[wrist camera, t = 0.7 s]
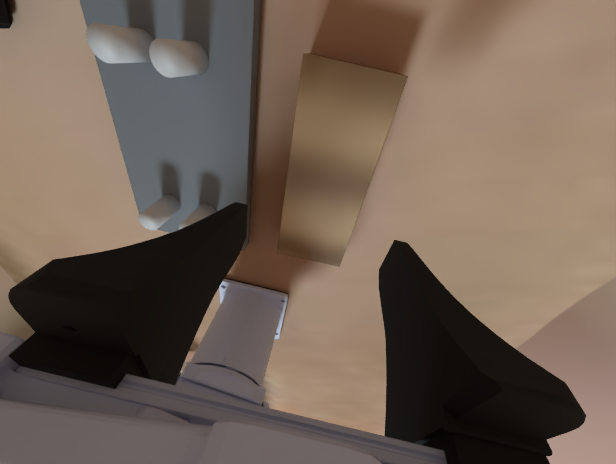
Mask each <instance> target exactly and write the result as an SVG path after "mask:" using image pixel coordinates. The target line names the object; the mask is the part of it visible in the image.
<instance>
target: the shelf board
mask: <svg viewBox="0 0 616 464" xmlns="http://www.w3.org/2000/svg"><path fill="white" fill-rule="evenodd" d="M407 77H408V76H405V75H402V74H400V73H395V72H391V71H386V70H381V69H377V68H372V67H368V66H363V65H359V64H354V63H350V62H345V61H341V60H336V59H332V58H327V57H323V56H318V55H314V54H306V53H303V59H302V67H301V75H300V82H299V90H298V97H297V105H296V112H295V120H294V128H293V135H292V143H291V150H290V158H289V165H288V173H287V181H286V188H285V196H284V203H283V211H282V218H281V226H280V234H279V241H278V249H277V253H281V254H285V255H290V256H294V257H299V258H303V259H308V260H312V261H316V262H321V263H325V264H330V265H334V266H338V267H340V264H341V261H342V258H343V256H344V253H345V250H346V247H347V245H348V242H349V239H350V236H351V233H352V231H353V228H354V225H355V222H356V219H357V217H358V214H359V211H360V208H361V206H362V203H363V200H364V197H365V194H366V192H367V189H368V186H369V183H370V180H371V178H372V175H373V172H374V169H375V167H376V164H377V161H378V158H379V155H380V153H381V150H382V147H383V144H384V141H385V139H386V136H387V133H388V130H389V128H390V125H391V122H392V119H393V116H394V114H395V111H396V108H397V105H398V102H399V100H400V97H401V94H402V91H403V89H404V86H405V83H406V80H407Z"/></svg>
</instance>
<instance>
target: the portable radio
mask: <svg viewBox="0 0 616 464" xmlns="http://www.w3.org/2000/svg"><path fill="white" fill-rule="evenodd" d="M11 24H12V20H11V15H10V10H9V6H8V1H7V0H0V28H10V26H11Z"/></svg>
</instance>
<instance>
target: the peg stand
mask: <svg viewBox="0 0 616 464" xmlns="http://www.w3.org/2000/svg"><path fill="white" fill-rule="evenodd" d="M80 3H81V7H82V10H83V14H84V18H85V21H86V25H87V31H86V36H87V41H88V44H89V46H90V48H91V50H92V51H93V52H94V54H95V57H96V61H97V64H98V68H99V71H100V75H101V79H102V82H103V86H104V89H105V93H106V97H107V100H108V104H109V107H110V111H111V114H112V118H113V122H114V125H115V129H116V132H117V136H118V140H119V143H120V147H121V150H122V154H123V158H124V161H125V165H126V168H127V172H128V175H129V179H130V183H131V186H132V190H133V193H134V197H135V201H136V204H137V208H138V211H139V216H138V219H139V222H140V223H141V224H142V226H144V227H145V228H147V229H149V230H157V229H158V230H162V231H166V232H170V233H172V232H175V231H177V230H180V229H182V228H184V227H187V226H189V225H191V224H193V223H195V222H197V221H200V220H202V219H204V218H206V217H208V216H209V215H211V214H213V213H215V212H217V211H219V210H221V209H223V208H224V207H226V206H228V205H230V204H232V203H234V202H238V203H242V204H247V205H248V211H247V235H246V240H245V242H244V244H243V247H242V249H241V250H245V248H246V247H247V245H248V243H249V227H250V207H251V188H252V168H253V149H254V129H255V110H256V90H257V71H258V51H259V32H260V12H261V0H80Z"/></svg>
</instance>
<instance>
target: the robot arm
mask: <svg viewBox="0 0 616 464" xmlns="http://www.w3.org/2000/svg"><path fill="white" fill-rule="evenodd" d="M247 211H248V205H247V204H242V203H238V202H234V203H232V204H230V205H228V206H226V207H224V208H223V209H221V210H219V211H217V212H215V213H213V214H211V215H209V216H208V217H206V218H204V219H202V220H200V221H197V222H195V223H193V224H191V225H189V226H187V227H184V228H182V229H180V230H177V231H175V232H172V233H169V234H166V235H164V236H161V237H158V238H155V239H151V240H148V241H144V242H141V243H137V244H134V245H130V246H126V247H122V248H118V249H113V250H108V251H104V252H99V253H93V254H87V255H81V256H75V257H68V258H62V259H55V260H52V261H51V262H49V263H48V264H46V265H45V266H43V267H42V268H41V269H39V270H38V271H36V272H35V273H33V274H32V275H30V276H29V277H27V278H26V279H25V280H23V281H22V282H20V283H19V284H17V285H16V286H14V287H13V288H12V289H10V292H9V300H10V303H11V305H12V306H13V307H14V309H15V310H16V311H17V312H18V313H19V314H20V315H21V317H22V318H23V319H24V320H25V321H26V322H27V323H28V324H29V325H30V326H31V327H32V329H33V330H34V331H35V333H34V334H33V335H32V336H31V337H30V338H28V339H27V340H26V341H25V340H23V339H21V338H19V337H17V336H14V335H11V334H7V333H2V332H0V464H550V463H549V461H548V459H547V457H546V456H551V455H552V450H551V448H550V446H549V444H548V443H547V439H549V438H552V437H555V436H558V435H561V434H564V433H567V432H570V431H572V430H574V429H576V428H579V427H580V426H581V425H582V424H583V423H584V421H585V417H586V415H585V413H584V411H583V410H582V408H581V406H580V405H579V403H578V402H577V400H576V399H575V397H574V395H573V394H572V392H571V391H570V389H569V388H568V386H567V385H566V383H565V382H563V381H562V380H560V379H559V378H557V377H556V376H554V375H553V374H551V373H550V372H548V371H546V370H545V369H544V368H542V367H541V366H539V365H537V364H536V363H535V362H533V361H531V360H530V359H528V358H527V357H526V356H524V355H523V354H521V353H520V352H519V351H517V350H516V349H515V348H513V347H512V346H511V345H509V344H508V343H507V342H505V341H504V340H503V339H501V338H500V337H499V336H497V335H496V334H495V333H494V332H492V331H491V330H490V329H489V328H488V327H486V326H485V325H484V324H483V323H482V322H480V321H479V320H478V319H477V318H476V317H475V316H473V315H472V314H471V313H470V312H469V311H468V310H467V309H466V308H465V307H464V306H463V305H462V304H461V303H460V302H458V301H457V300H456V299H455V298H454V297H453V296H452V295H451V293H450V292H449V291H448V290H447V289H446V288H445V287H444V286H443V285H442V284H441V283H440V281H439V280H438V279H437V278H436V277H435V276H434V275H433V273H432V272H431V271H430V270H429V269H428V267H427V266H426V265H425V264H424V262H423V261H422V260H421V259H420V257H419V256H418V255H417V254H416V253H415V251H414V250H413V249H412V248H411V247H410V245H409V244H408V243H406V242H401V241H397V240H394V242H393V244H392V246H391V248H390V250H389V252H388V254H387V255H386V257H385V259H384V261H383V263H382V265H381V267H380V269H379V292H380V300H381V307H382V314H383V321H384V328H385V337H386V370H387V386H386V420H385V436H381V435H377V434H373V433H369V432H365V431H361V430H357V429H352V428H348V427H344V426H340V425H336V424H332V423H328V422H324V421H319V420H315V419H311V418H307V417H303V416H299V415H295V414H291V413H286V412H282V411H278V410H274V409H270V408H269V404H268V403H267V402H265V401H263V399H264V395H265V391H266V390H265V389H264V388H261V387H262V383H263V379H264V376H265V372H266V368H267V365H268V361H269V357H270V354H271V350H272V346H273V342H274V339H276V340H277V339H279V337H280V333H281V328H282V323H283V319H284V314H285V310H286V305H287V301H288V295H287V294H286V293H282V292H278V291H274V290H269V289H265V288H261V287H257V286H253V285H249V284H244V283H240V282H236V281H232V280H228V279H224V278H225V277H226V275H227V273H228V272H229V270H230V269H231V267H232V265H233V264H234V262H235V260H236V259H237V257H238V255H239V253H240V251H241V249H242V247H243V244H244V242H245V240H246V235H247ZM218 288H219V290H220V307H219V309H218V311H217V312H216V314H215V316H214V318H213V320H212V322H211V324H210V326H209V328H208V330H207V332H206V333H205V335H204V337H203V339H202V341H201V343H200V345H199V347H198V349H197V351H196V352H195V354H194V356H193V358H192V360H191V362H188V363H187V365H186V367H185V369H184V371H183V372H182V374H181V372H180V371H181V368H182V366H183V363H184V361H185V358H186V356H187V354H188V351H189V349H190V347H191V344H192V342H193V340H194V337H195V335H196V333H197V331H198V328H199V326H200V324H201V322H202V320H203V317H204V315H205V313H206V311H207V309H208V307H209V305H210V303H211V301H212V299H213V297H214V295H215V293H216V291H217V290H218ZM180 375H181V376H180Z"/></svg>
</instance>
